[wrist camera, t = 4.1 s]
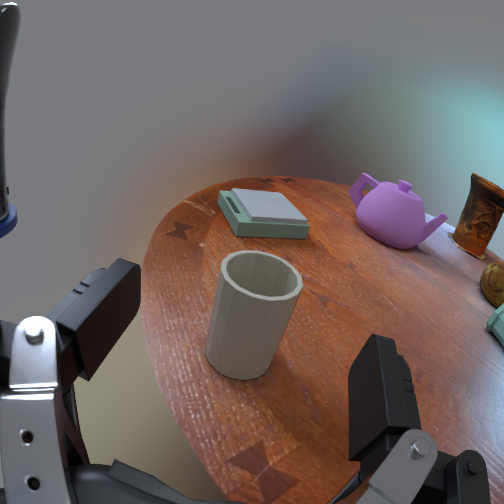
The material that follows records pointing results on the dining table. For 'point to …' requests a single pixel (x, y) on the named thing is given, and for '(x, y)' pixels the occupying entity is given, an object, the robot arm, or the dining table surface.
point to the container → (497, 324)
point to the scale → (262, 214)
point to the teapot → (392, 213)
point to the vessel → (479, 216)
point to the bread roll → (493, 283)
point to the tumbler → (250, 312)
